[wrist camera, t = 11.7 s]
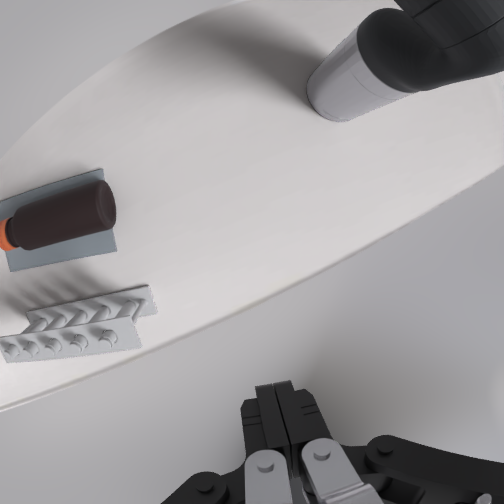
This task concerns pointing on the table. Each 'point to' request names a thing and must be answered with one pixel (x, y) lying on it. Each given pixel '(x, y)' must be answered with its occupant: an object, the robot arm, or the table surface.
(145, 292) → the test tube rack
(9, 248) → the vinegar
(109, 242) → the slate mat
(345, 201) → the table surface
